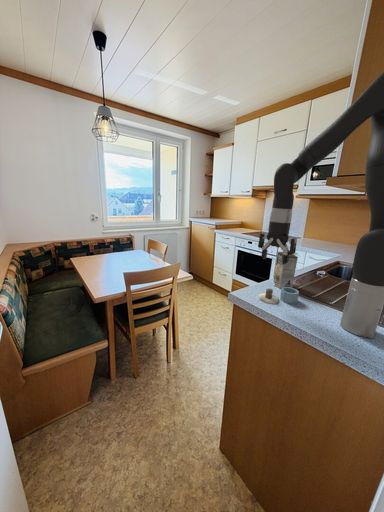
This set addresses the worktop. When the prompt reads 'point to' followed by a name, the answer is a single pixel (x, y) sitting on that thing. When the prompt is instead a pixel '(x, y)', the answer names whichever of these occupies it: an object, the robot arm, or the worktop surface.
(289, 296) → the bowl
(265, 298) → the lid
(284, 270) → the coffee box
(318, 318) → the worktop surface
